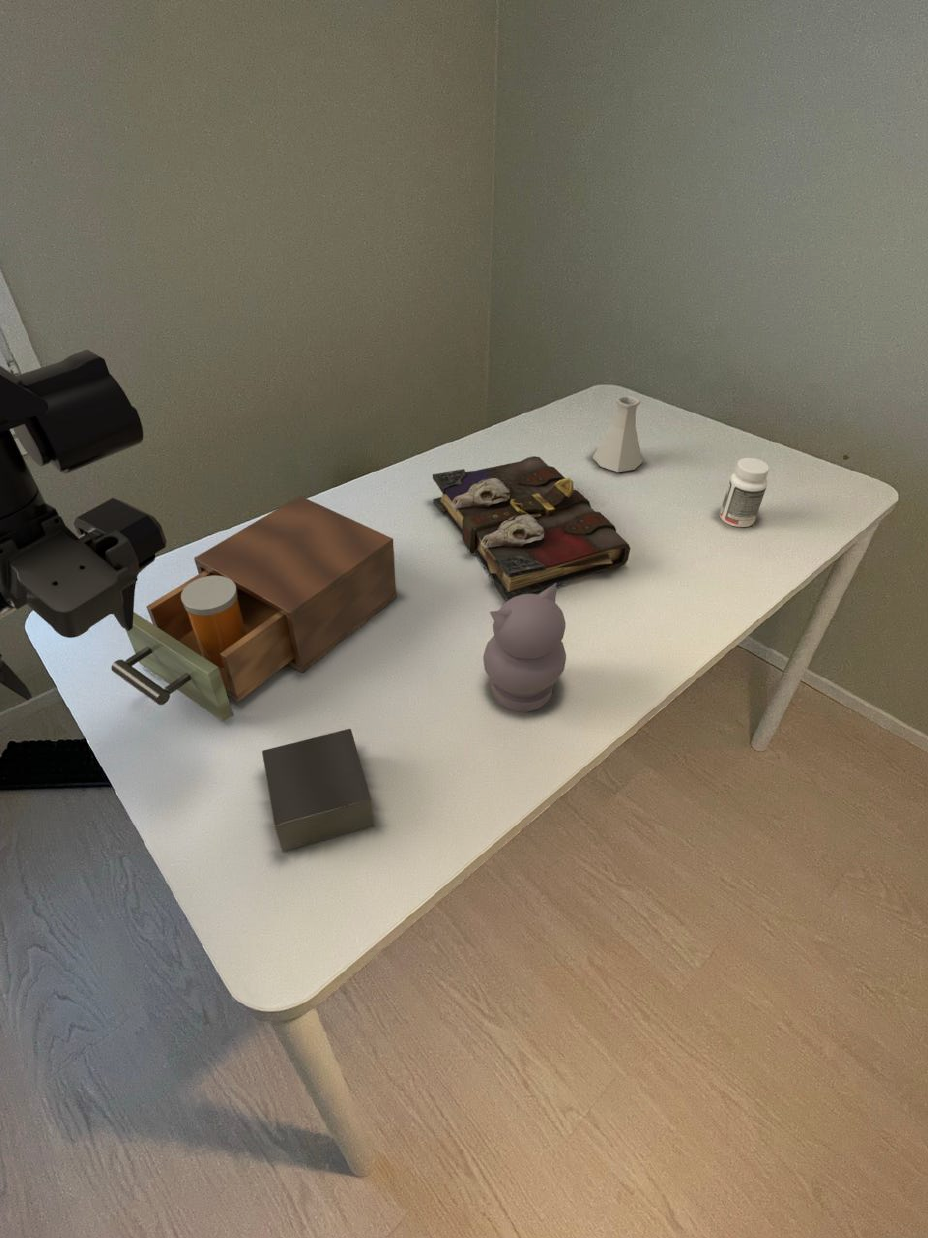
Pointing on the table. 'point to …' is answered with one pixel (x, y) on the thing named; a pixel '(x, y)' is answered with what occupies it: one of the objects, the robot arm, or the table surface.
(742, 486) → the pill bottle
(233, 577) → the cabinet
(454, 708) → the table surface
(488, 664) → the cat figurine
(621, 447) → the flask
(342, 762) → the stand
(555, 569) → the book
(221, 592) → the amber jar
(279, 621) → the drawer
